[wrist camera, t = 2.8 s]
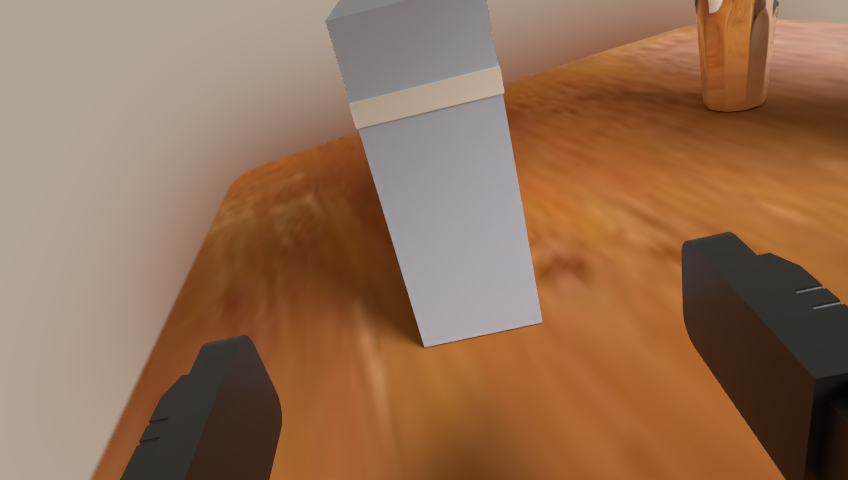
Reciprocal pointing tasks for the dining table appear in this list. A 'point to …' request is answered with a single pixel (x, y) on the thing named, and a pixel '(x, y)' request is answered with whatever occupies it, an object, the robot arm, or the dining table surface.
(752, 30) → the milkshake
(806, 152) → the dining table surface
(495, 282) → the tall grey box
